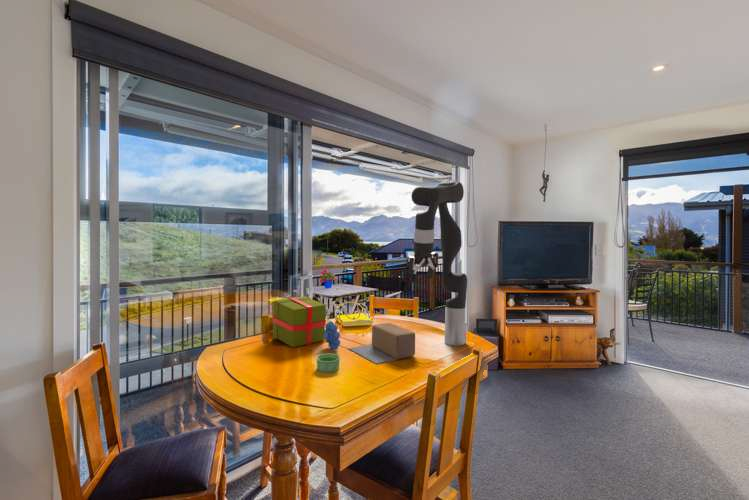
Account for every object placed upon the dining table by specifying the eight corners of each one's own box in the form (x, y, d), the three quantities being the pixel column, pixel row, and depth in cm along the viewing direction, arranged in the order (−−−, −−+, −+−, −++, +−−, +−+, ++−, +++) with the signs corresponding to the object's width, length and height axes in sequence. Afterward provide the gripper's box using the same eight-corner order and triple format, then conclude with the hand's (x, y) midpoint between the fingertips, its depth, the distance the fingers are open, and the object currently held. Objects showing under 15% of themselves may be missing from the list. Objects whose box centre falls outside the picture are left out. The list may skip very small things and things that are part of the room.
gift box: (323, 348, 174) (296, 333, 192) (332, 304, 175) (304, 294, 193) (285, 349, 160) (259, 333, 178) (295, 302, 160) (268, 290, 178)
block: (416, 332, 153) (389, 322, 170) (396, 335, 148) (371, 324, 165) (415, 356, 154) (389, 343, 171) (395, 360, 148) (370, 346, 166)
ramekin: (320, 374, 133) (320, 362, 133) (312, 366, 141) (313, 355, 141) (343, 370, 138) (343, 359, 137) (334, 363, 145) (334, 352, 145)
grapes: (317, 347, 165) (317, 320, 164) (330, 344, 169) (330, 318, 168) (329, 354, 155) (330, 326, 155) (343, 351, 159) (344, 324, 159)
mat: (382, 342, 173) (382, 342, 173) (412, 356, 154) (412, 355, 154) (348, 349, 163) (348, 348, 163) (376, 364, 144) (376, 363, 144)
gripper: (431, 235, 147) (428, 274, 151) (402, 240, 139) (401, 280, 143) (444, 239, 141) (441, 279, 145) (415, 244, 133) (413, 286, 137)
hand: (421, 280), depth 144 cm, fingers open, 8 cm apart
